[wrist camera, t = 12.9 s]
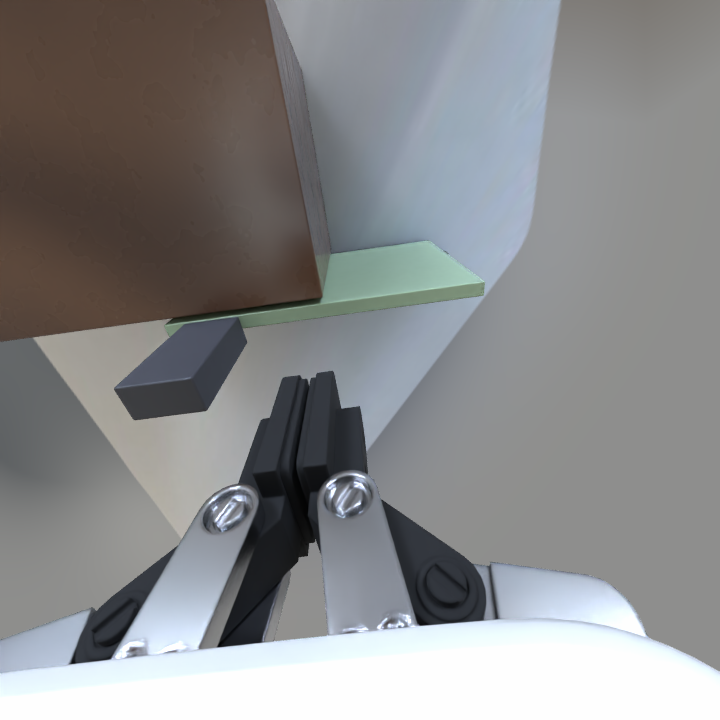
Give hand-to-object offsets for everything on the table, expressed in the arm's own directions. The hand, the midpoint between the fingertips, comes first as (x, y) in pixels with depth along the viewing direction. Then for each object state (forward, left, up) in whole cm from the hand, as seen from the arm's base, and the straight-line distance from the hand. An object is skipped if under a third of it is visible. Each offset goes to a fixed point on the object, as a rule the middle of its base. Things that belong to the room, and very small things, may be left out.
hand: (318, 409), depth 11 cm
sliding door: (0, 0, -20) cm, 20 cm away
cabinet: (-6, -4, -20) cm, 22 cm away
